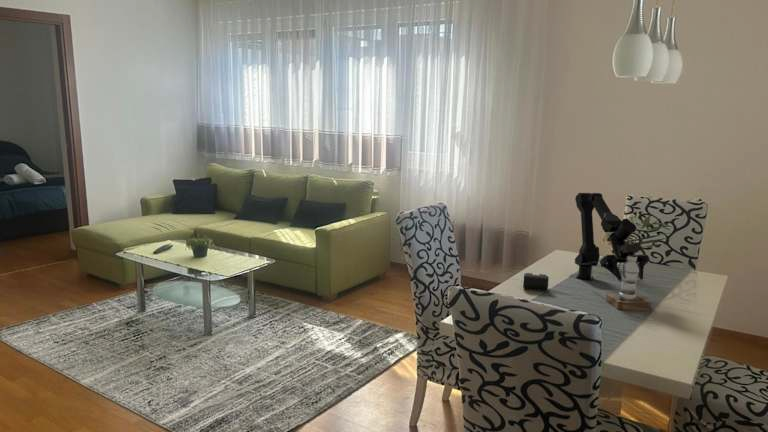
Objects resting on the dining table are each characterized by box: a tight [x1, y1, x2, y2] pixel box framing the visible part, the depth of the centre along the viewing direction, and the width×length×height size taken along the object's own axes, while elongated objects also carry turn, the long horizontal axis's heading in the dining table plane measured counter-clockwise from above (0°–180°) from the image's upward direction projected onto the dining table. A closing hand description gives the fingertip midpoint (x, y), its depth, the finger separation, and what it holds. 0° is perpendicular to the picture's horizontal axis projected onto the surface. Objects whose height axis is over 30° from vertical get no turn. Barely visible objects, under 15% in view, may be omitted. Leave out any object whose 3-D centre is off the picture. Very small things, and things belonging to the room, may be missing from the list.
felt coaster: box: [592, 289, 620, 301], centre depth 241 cm, size 12×12×1 cm
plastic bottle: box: [618, 254, 639, 302], centre depth 230 cm, size 6×7×20 cm
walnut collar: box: [605, 292, 653, 311], centre depth 230 cm, size 10×13×3 cm
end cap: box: [522, 272, 550, 292], centre depth 245 cm, size 10×7×7 cm
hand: (631, 279), depth 228 cm, fingers open, 9 cm apart
